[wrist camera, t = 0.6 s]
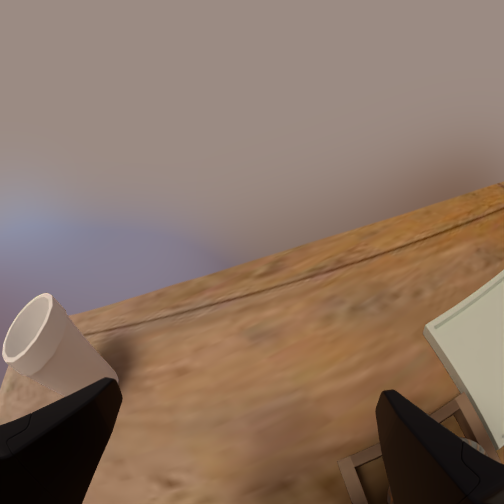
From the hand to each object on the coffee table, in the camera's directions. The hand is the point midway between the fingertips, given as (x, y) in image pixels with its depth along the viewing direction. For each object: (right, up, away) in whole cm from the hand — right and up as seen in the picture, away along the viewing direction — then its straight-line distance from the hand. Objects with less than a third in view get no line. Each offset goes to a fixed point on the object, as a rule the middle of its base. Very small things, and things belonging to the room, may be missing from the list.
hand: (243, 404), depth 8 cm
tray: (+24, -4, +8) cm, 25 cm away
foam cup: (-19, -12, +21) cm, 31 cm away
